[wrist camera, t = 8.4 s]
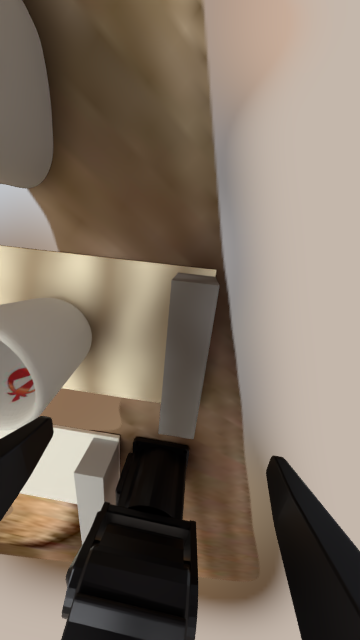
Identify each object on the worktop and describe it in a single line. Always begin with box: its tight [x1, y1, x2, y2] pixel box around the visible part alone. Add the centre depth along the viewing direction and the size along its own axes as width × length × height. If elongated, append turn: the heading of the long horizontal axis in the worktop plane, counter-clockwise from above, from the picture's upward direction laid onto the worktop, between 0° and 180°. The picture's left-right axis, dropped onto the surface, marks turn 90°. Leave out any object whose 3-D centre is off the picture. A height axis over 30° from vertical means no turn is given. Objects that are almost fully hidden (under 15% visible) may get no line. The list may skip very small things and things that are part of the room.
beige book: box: [0, 245, 219, 439], centre depth 17 cm, size 20×14×4 cm
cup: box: [0, 298, 92, 430], centre depth 16 cm, size 11×8×8 cm
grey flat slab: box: [0, 424, 120, 545], centre depth 25 cm, size 20×14×4 cm
